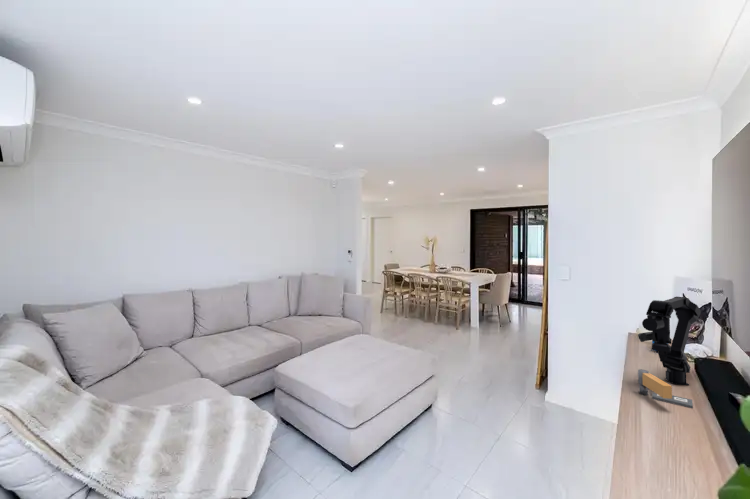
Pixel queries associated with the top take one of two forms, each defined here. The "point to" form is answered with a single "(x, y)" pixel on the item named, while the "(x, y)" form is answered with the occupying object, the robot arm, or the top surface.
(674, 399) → the label plate
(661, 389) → the swing bar
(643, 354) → the top surface
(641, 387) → the grey grooved cylinder
